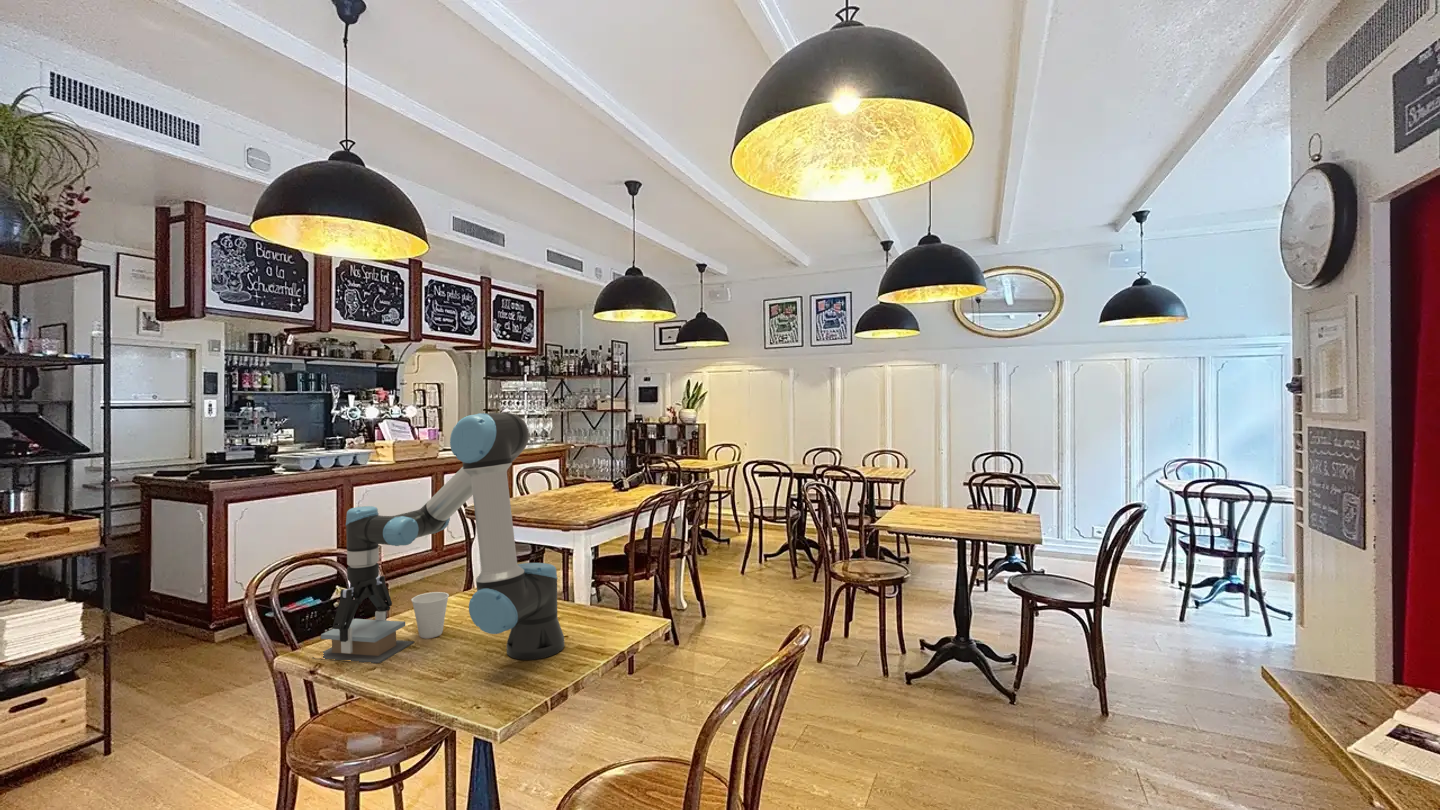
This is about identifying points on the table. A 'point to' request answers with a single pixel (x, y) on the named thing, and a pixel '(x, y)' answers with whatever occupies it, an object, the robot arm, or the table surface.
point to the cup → (430, 613)
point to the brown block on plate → (368, 650)
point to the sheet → (367, 630)
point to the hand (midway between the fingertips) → (364, 643)
